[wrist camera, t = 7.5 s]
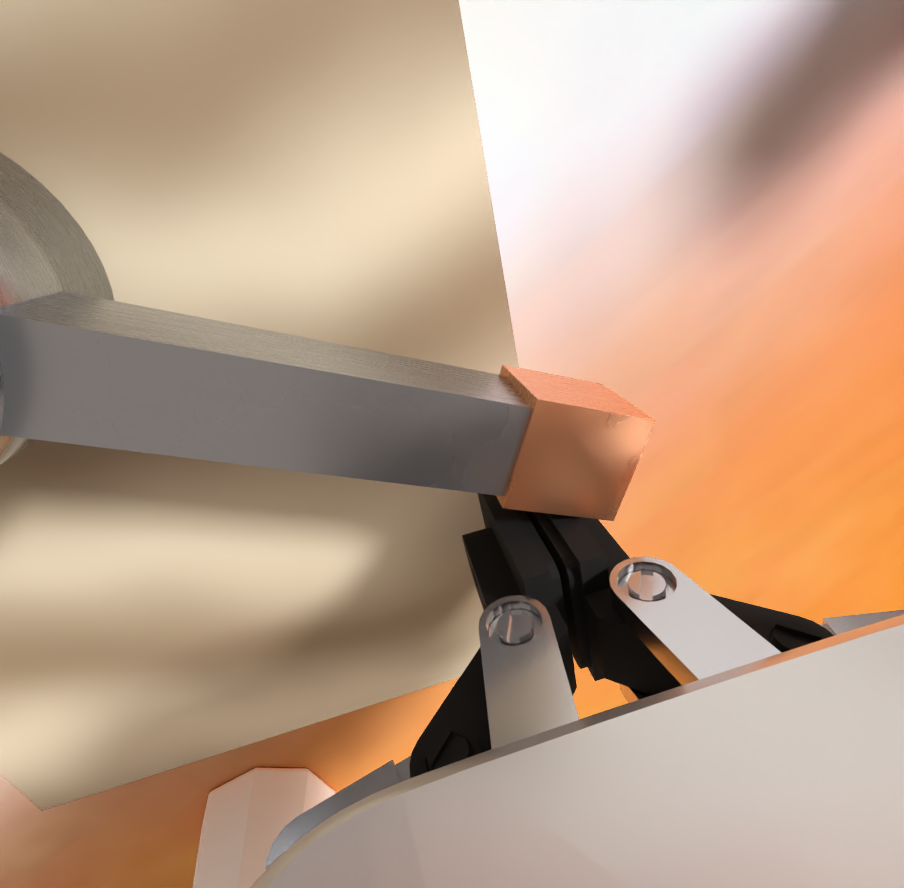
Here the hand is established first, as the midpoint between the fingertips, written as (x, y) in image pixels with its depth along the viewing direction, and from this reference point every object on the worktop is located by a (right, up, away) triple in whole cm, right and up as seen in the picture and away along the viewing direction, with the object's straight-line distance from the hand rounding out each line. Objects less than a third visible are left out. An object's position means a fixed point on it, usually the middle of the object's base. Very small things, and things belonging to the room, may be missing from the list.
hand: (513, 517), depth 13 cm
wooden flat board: (-9, +4, 0) cm, 10 cm away
